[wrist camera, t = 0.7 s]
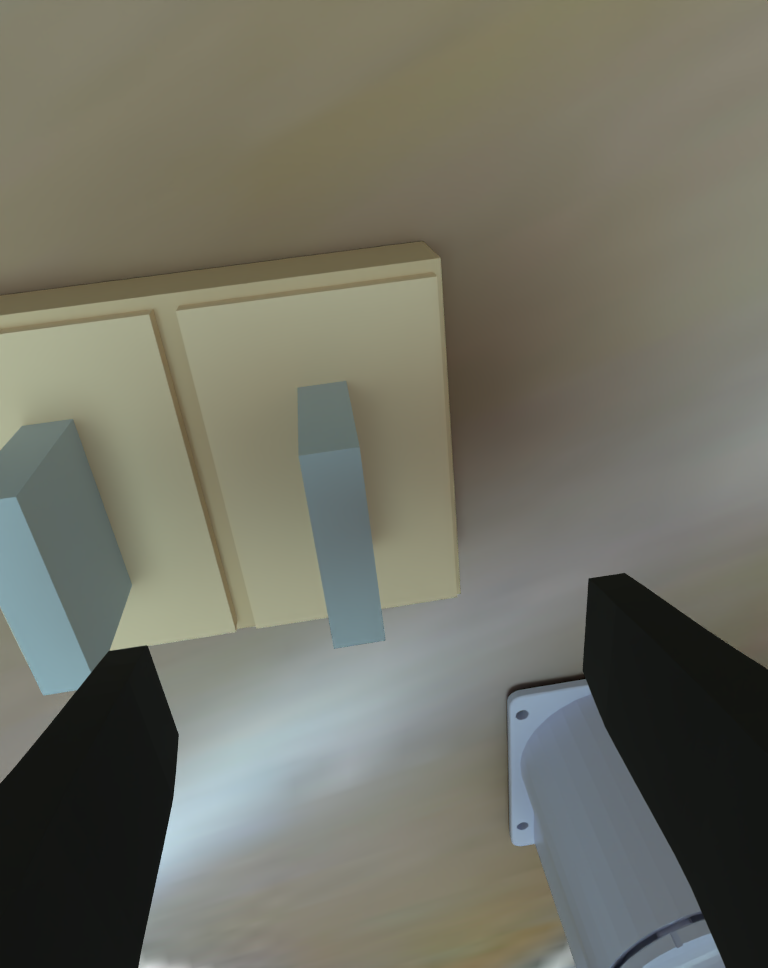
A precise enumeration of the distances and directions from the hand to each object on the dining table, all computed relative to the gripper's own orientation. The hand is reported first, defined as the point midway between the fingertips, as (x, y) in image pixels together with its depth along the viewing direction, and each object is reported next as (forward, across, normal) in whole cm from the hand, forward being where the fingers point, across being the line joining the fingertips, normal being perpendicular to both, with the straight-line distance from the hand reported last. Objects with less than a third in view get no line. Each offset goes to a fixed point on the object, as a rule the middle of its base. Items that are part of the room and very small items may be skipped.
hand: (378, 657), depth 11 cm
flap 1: (+8, +7, 0) cm, 10 cm away
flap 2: (+8, 0, 0) cm, 8 cm away
